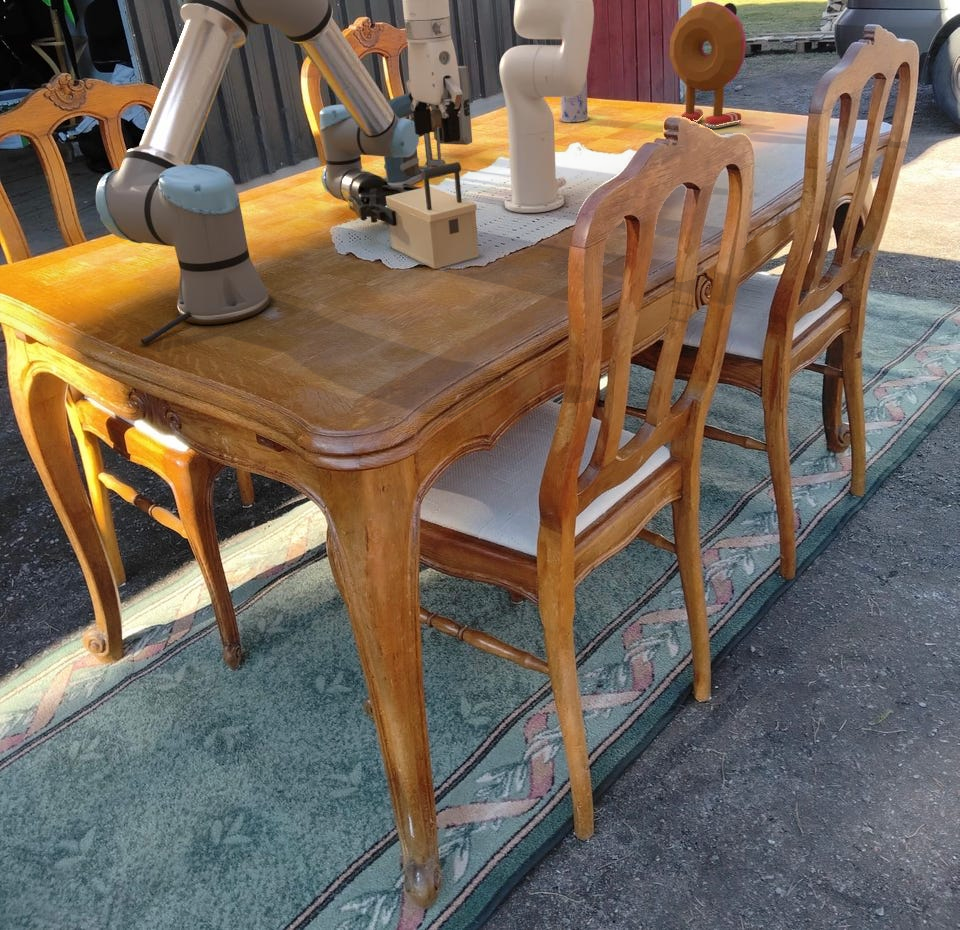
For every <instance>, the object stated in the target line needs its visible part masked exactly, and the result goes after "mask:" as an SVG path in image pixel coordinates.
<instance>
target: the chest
mask: <svg viewBox="0 0 960 930" xmlns="http://www.w3.org/2000/svg"><path fill="white" fill-rule="evenodd" d="M386 207H387V208H389V209H392V210H394V211H395V214H396V222H397V225H396V226H392V225H390V224H388V226H389V233H390V234H389V235H390V241H391V242H390V243H391V248H392V249H394V250H395V251H398V252H400V253H401V254H403V255H406V256H408V257H410V258H412V259H414V260H415V261H418V262H419V263H422V264H423V265H426V266H428V267H429V268H432V269H434V270H437V269H440V268H443V267H447V266H450V265H455V264H458V263H462V262H466V261H469V260H472V259H475V258H479V257H480V253H479V252H480V251H479V239H478V228H477V227H478V226H477V215H476V213H477V212H476V211H472V212H468V213H464V214H461V215H457V216H453V217H449V218H445V219H441V220H437V221H433V222H430V221H428V220H426V219H423V218H421V217H419V216H416V215H414V214H412V213H409V212H407V211H405V210H402V209H400V208H398V207H396V206H393V205H391V204H389V203H387V206H386Z"/></svg>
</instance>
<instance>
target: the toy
mask: <svg viewBox="0 0 960 930" xmlns="http://www.w3.org/2000/svg"><path fill="white" fill-rule="evenodd" d="M737 12H738V10H737V6H736V5H735V4H734V3H732V2H728V3H726V4H724V5H723V4H719V3H717V2H714V1H705V2H702V3H701V2H700V3H698V4H695V5H693V6H692V7H691V8H689V9H688V10H687V11H686V12H685V13H684V14H683V15H682V16H681V17H679V19H678V20H677V21H676V23H675V26H674V29H673V30H672V32H671V36H670V38H669V59H670V62H671V65H672V68H673V70H674V74H675V75H676V76H677V77H678V78H679V79H680V80H681V81H682V82H683V83H684V85H685V111H684V112H683V113H682V114H681V115H680V116H682V117H686V118H688V119H690V120H691V121H694V120H698V119H699V118H700V117H701V116H702V115H703V117H702V118H701V119H700V120H699V121H697V122H696V121H694V122H696V123H697V124H698V123H699V122H700V121H701V120H702V119H703V118H704V112H703V110H702V109H700V108H695V106H696V90H698V91H699V92H700V91H701V92H712V91H714V92H713V97H714V99H713V109H712V110H713V111H712V112H713V113H712V115H709V116H706V117H705V119H704V127H706V128H709V129H721V128H725V127H730V126H734V125H735V126H736V125H738V124H741V123H742V114H741V113H739V112H735V111H730V112H725V113H723V109H724V94H725V86H726V85H728V84H730V82H732V81H733V80H735V78H736V77H737V76H738V74H739V72H740V70H741V68H742V66H743V63H744V62H745V58H746V49H747V39H746V34H745V31H744V27H743V24H742V22H741V20H740V19H739V17H738V16H737V14H738V13H737ZM706 42H708V43H709V44H710V47H711V48H710V49H711V50H710V52H709V53H706V52H705V51H704V44H705V43H706ZM693 119H694V120H693ZM738 120H741V121H739V122H734V123H729V124H724V125H719V124H723V123H727V122H733V121H738ZM705 123H706V124H708V125H706V124H705ZM710 125H711V126H710ZM713 125H714V126H713ZM716 125H719V126H716Z"/></svg>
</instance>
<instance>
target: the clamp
mask: <svg viewBox="0 0 960 930" xmlns="http://www.w3.org/2000/svg"><path fill="white" fill-rule="evenodd" d="M458 73H459V81H460V89H461V91H462V100H461V108H460V116H459V126H460V140H458V141H453V142H448V143H445V142H443V137H442V125H441V118H444V117H443V115H442V113H441V110H440V108H439V106H438V105H433V104H429V105H428V108H426V109H430V112H431V123H432V132H431V133H433V138H434V140H435V141H436V153H437V159H436V158H433V157H434V156H433V150H432V149H433V148H432V141H431V133H426V134H421V135H419V138H420V137H423V139H424V151H425V160H426V161H425V163H424V164H425V166H423V165H419V157H418V147H417V148H416V151H415V153H414V154H413V155H411V156H409V157H396V158H393V157H384V156H383V160H384V166H383V168H384V170H385V177H382V178H383V179H385V181H386V182H387V183H388V185H390V186H391V187H400V188H403V184H405V183H406V184H409V185H411V186H413V185H414V184H416V183H418V182H421V181H422V180H424V179H423V178H422V176H421V171H422V170H424V169H429V168H433V167H438V166H442V165H447V164H446V163H447V162H446V160H444V159H442V153H441V152H442V151H441V145H463V146H468V145H470V144H472V143H473V132H472V131H473V130H472V119H471V107H470V105H471V104H470V93H469V91H470V90H469V79H468V67H467V65H458ZM387 102H388V103H389V105H390V106H391V108H392V110H393V111H394V112H395V114H396V116H397V117H398V118H405V119H410V120H412V121H413V122H414V117H413V118H412V117H411V118H410V116H411V115H412V114H413V110H412V108H411V104H412V103H411V101H410V99H409V92H407V93H405V94H401V95H398V96H396V97H394V98H391V99H389V100H387ZM445 106H446V108H448V106H449V105H445Z"/></svg>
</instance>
